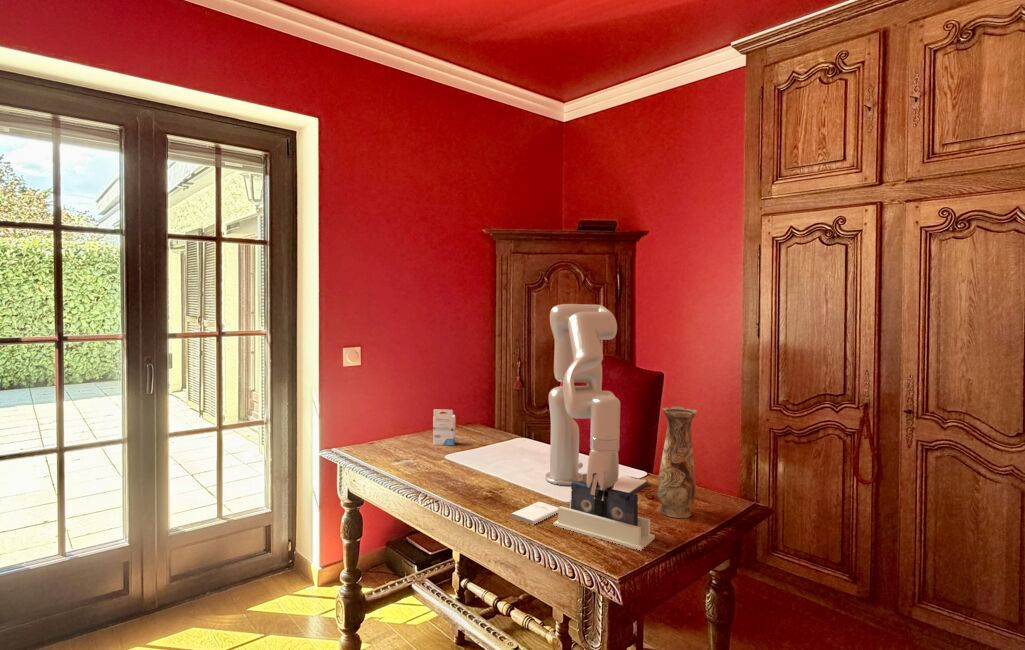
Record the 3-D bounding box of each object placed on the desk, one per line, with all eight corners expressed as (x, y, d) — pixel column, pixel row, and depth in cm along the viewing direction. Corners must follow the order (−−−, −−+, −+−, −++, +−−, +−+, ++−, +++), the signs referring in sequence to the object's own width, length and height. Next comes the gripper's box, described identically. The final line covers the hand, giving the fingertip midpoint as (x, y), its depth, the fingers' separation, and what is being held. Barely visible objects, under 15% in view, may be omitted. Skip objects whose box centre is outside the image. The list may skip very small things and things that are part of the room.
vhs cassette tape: (638, 532, 145) (638, 494, 144) (633, 536, 142) (633, 497, 142) (575, 515, 156) (576, 479, 155) (570, 518, 153) (570, 482, 153)
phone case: (627, 499, 174) (649, 485, 187) (627, 494, 174) (649, 480, 187) (602, 493, 180) (625, 479, 192) (602, 488, 179) (625, 474, 192)
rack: (569, 515, 160) (570, 497, 159) (654, 538, 145) (655, 519, 145) (553, 525, 152) (553, 507, 152) (641, 551, 138) (641, 531, 138)
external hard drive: (510, 518, 158) (538, 506, 167) (533, 526, 153) (560, 513, 162) (510, 512, 158) (538, 500, 167) (533, 520, 153) (560, 507, 162)
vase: (650, 512, 163) (653, 409, 161) (668, 502, 170) (671, 404, 169) (684, 522, 156) (687, 415, 154) (701, 511, 163) (704, 409, 162)
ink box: (455, 442, 235) (455, 407, 234) (453, 445, 230) (453, 410, 229) (435, 441, 236) (435, 406, 235) (432, 444, 231) (432, 409, 230)
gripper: (605, 435, 156) (603, 500, 157) (577, 448, 143) (575, 518, 144) (630, 439, 152) (628, 506, 153) (604, 453, 139) (602, 526, 140)
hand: (603, 511), depth 149 cm, fingers closed on vhs cassette tape, 2 cm apart
